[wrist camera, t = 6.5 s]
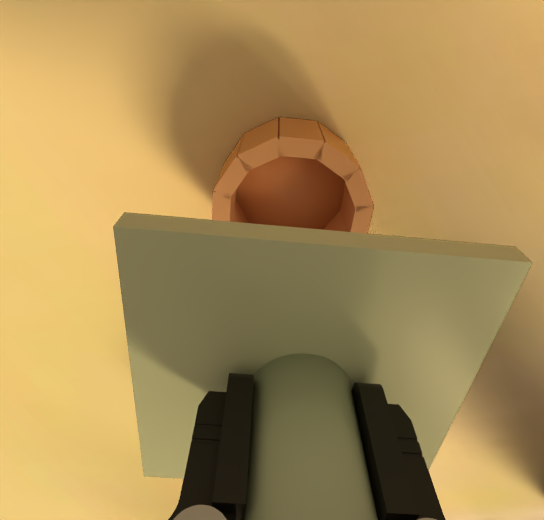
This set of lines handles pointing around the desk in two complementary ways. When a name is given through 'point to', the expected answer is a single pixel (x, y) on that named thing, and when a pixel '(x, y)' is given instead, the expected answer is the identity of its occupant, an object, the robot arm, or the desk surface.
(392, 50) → the desk surface
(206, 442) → the robot arm
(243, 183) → the bowl
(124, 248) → the square lid with knob
